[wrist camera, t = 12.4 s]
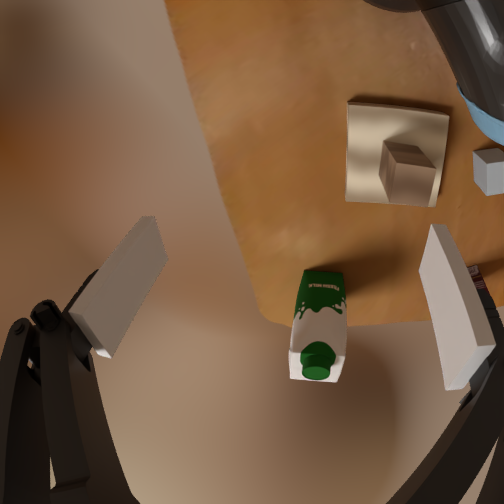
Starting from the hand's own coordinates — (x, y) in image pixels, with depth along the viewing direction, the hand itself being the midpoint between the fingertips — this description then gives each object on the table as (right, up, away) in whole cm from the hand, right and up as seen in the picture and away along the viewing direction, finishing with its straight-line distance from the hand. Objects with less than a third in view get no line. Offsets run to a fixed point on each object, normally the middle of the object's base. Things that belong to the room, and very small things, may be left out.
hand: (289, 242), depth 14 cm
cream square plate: (+18, +14, +25) cm, 34 cm away
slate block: (+34, +13, +21) cm, 42 cm away
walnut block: (+18, +12, +23) cm, 31 cm away
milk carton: (+11, -7, +43) cm, 45 cm away
